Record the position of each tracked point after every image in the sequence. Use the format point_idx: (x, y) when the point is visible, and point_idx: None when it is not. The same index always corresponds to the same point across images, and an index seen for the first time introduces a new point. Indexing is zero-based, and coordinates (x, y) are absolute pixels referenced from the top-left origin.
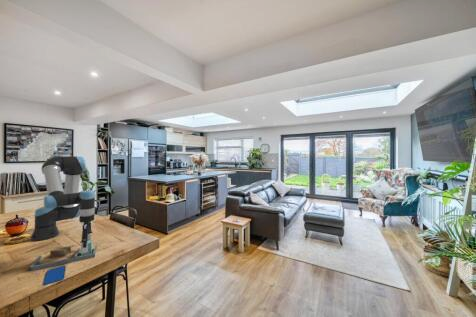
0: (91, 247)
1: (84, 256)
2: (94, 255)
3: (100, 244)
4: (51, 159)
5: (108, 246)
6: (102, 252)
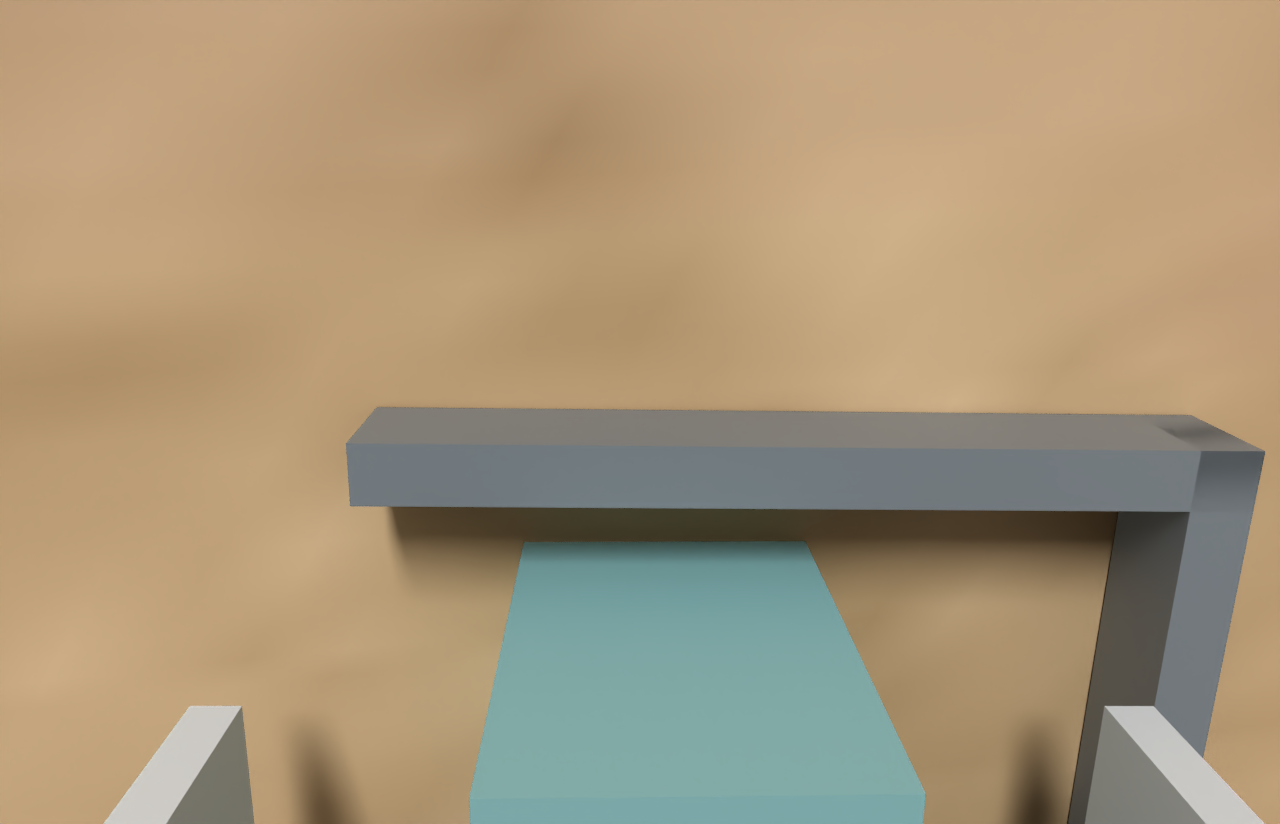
0: (751, 633)
1: (1200, 716)
2: (1221, 435)
3: (46, 322)
4: None
5: (441, 2)
6: (949, 198)
